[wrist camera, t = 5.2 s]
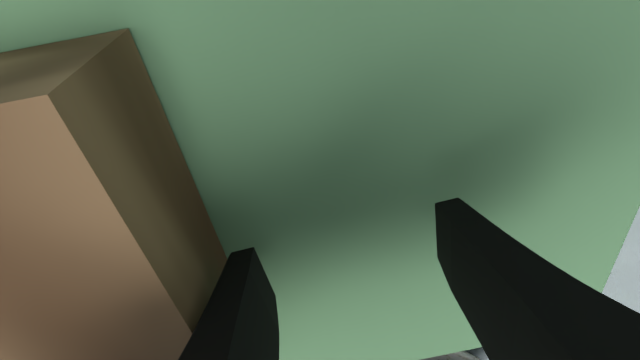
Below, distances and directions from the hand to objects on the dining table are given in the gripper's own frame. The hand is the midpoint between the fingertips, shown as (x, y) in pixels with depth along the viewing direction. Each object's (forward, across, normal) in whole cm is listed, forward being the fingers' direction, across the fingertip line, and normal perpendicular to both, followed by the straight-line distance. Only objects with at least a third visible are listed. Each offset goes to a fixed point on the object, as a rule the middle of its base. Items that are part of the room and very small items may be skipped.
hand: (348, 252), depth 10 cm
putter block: (+1, +6, 0) cm, 6 cm away
